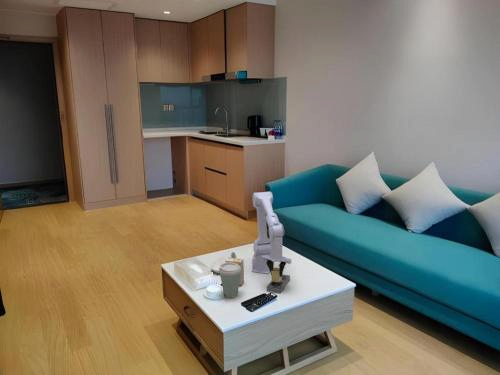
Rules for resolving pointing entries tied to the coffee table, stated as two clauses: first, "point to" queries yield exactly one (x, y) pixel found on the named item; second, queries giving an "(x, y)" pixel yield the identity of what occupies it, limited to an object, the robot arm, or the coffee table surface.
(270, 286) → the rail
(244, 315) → the coffee table surface
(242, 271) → the supplement box
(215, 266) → the spoon rest
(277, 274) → the wooden block
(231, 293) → the disposable coffee cup
